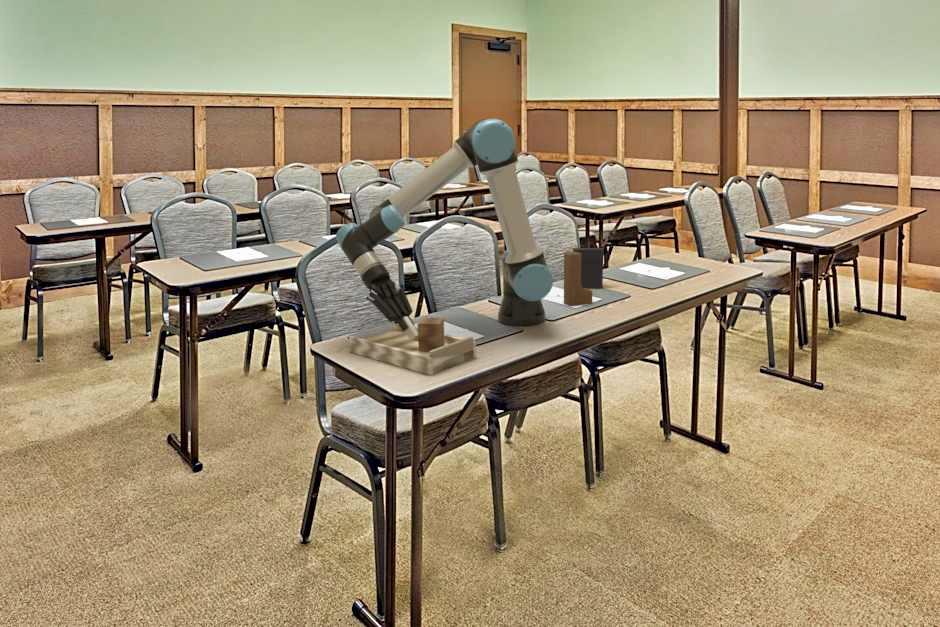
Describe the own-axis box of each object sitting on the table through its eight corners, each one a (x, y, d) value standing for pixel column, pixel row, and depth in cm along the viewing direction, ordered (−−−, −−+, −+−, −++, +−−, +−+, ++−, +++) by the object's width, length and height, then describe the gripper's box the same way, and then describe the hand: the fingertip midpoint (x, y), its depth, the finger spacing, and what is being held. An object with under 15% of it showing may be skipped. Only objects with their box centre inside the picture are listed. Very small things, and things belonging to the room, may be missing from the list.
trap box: (349, 351, 218) (348, 331, 217) (396, 336, 232) (395, 317, 230) (430, 375, 198) (429, 353, 196) (476, 357, 211) (476, 336, 209)
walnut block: (418, 351, 209) (417, 323, 207) (423, 344, 215) (422, 317, 213) (440, 352, 208) (439, 324, 206) (444, 345, 214) (443, 318, 212)
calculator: (601, 286, 288) (602, 247, 284) (602, 289, 284) (603, 249, 280) (572, 286, 289) (572, 247, 285) (573, 289, 285) (573, 249, 281)
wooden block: (586, 300, 269) (587, 249, 264) (592, 303, 264) (593, 252, 260) (563, 303, 266) (563, 252, 261) (569, 306, 262) (569, 254, 257)
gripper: (383, 275, 224) (425, 339, 218) (348, 283, 215) (391, 351, 209) (394, 259, 219) (438, 325, 213) (360, 267, 210) (404, 336, 204)
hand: (415, 338), depth 211 cm, fingers closed
